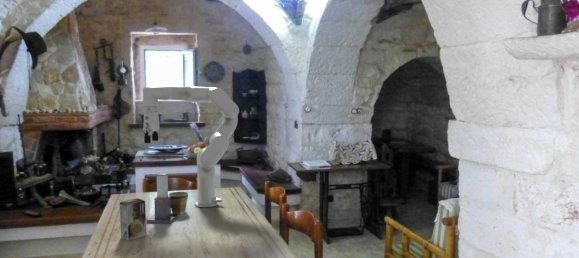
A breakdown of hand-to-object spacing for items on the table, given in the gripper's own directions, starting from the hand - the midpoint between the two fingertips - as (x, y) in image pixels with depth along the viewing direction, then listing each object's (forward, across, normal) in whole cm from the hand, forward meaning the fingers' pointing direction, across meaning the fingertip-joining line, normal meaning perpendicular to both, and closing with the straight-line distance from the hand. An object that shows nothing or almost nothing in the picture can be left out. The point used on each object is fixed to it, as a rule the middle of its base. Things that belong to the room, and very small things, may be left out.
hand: (151, 141), depth 242 cm
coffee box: (+36, -44, -10) cm, 58 cm away
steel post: (+29, -18, -13) cm, 37 cm away
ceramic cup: (+36, -4, -15) cm, 40 cm away
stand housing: (+36, -18, -13) cm, 43 cm away
